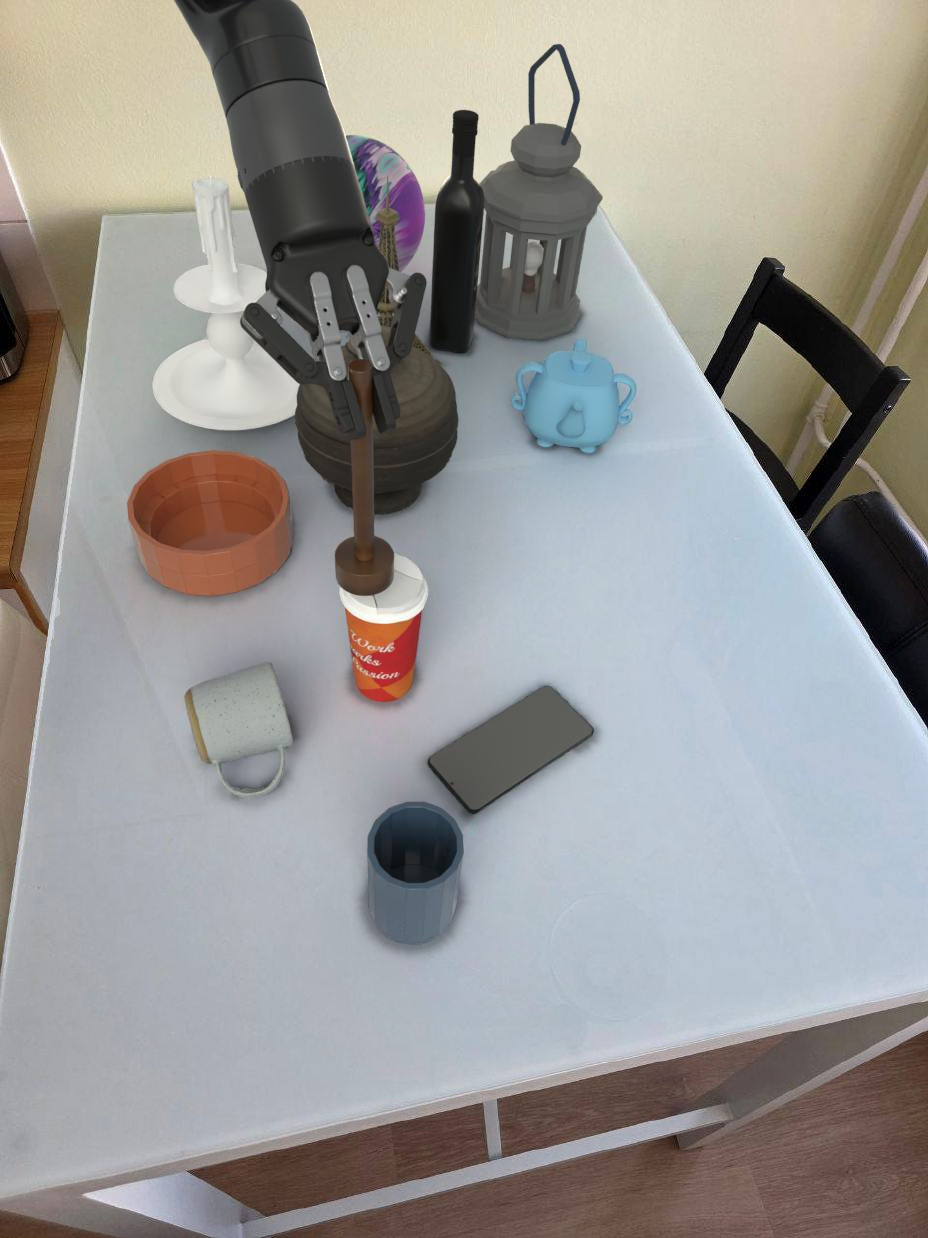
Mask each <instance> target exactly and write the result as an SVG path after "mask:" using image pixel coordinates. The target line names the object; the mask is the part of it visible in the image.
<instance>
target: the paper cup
mask: <svg viewBox="0 0 928 1238" xmlns="http://www.w3.org/2000/svg"><path fill="white" fill-rule="evenodd" d="M338 594H339V598H340V601H341V604H342V605H343V606H344V610H345V616H346V625H347V634H348V642H349V649H350V656H351V663H352V670H353V676H354V681H355V685H356V687H357V690H358V691H359V693H360V694H362V695H363V696H364V697H365V698H366V699H369V700H371V701H374V702H378V703H389V702H394V701H397V700H400V699H401V698H403V697H404V696H405V695H406V694H407V693H408V692H409V691H410V689H411V687H412V684H413V680H414V675H415V668H416V661H417V654H418V647H419V641H420V633H421V623H422V616H423V610H424V607H425V605H426V602H427V600H428V597H429V586H428V583H427V580H426V578H425V577H424V576H423V573H422V571H421V570H420V568H419V567H418V566H417V565H416V563H414V562H413V561H412V560H410V559H409V558H407V557H406V556H403V555H400V554H397V553H394V579H393V582H392V583H391V585H390V586H389V587H388V588H387V589H386V590H385V591H383V592H381V593H379V594H376V595H371V596H358V595H354V594H351V593H349V592H347V591H345V590H344V589H342V588H341V587H340V586H339V593H338Z"/></svg>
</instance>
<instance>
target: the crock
mask: <svg viewBox="0 0 928 1238" xmlns="http://www.w3.org/2000/svg"><path fill="white" fill-rule="evenodd" d="M366 842H367V843H366V845H367V846H366V847H367V848H366V852H367V853H366V858H367V863H366V864H367V890H368V891H367V894H368V899H367V900H368V909H369V914H370V917H371V919H372V922H373V924H374V925H375V927H376V928H377V929H378V931H379V932H380V933H381V934H382V935H383V936H385V937H386V938H388V939H389V940H391V941H394V942H395V943H399V944H403V945H409V946H410V945H412V946H413V945H420V944H421V945H422V944H425V943H428V942H430V941H432V940H435V939H437V937H439V936H441V935H442V934H443V933H444V932H445V931H446V930H447V929H448V927H449V926H450V924H451V922H452V920H453V918H454V915H455V913H456V912H455V911H456V908H457V903H458V898H459V897H458V896H459V891H460V890H459V889H460V883H461V877H462V876H461V875H462V867H463V860H464V854H465V846H464V845H465V844H464V834H463V832H462V830H461V828H460V826H459V824H458V822H457V819H455V818H454V817H453V816H452V815H451V814H449V813H448V812H447V810H445V809H444V808H442V807H441V806H438V805H435V804H432V803H430V802H426V801H403V802H402V803H399V804H396V805H394V806H390V807H389V808H387V809H386V810H385V811H384V812H383V813H382V814H381V815H379V816H378V817H377V818H376V819H375V820H374V821H373V824H372V826H371V828H370V830H369V832H368V835H367V841H366Z"/></svg>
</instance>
